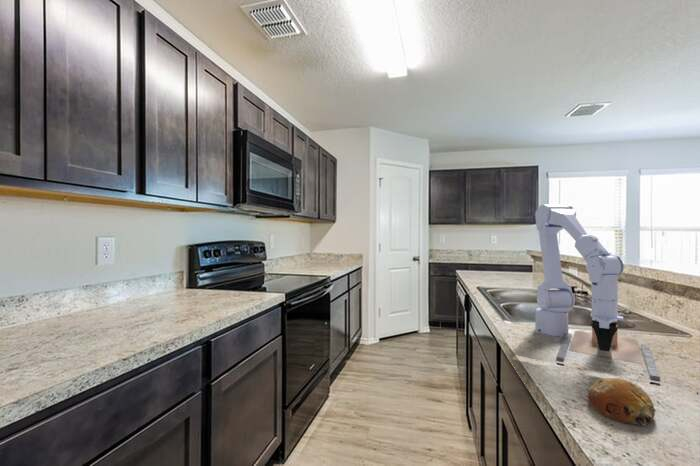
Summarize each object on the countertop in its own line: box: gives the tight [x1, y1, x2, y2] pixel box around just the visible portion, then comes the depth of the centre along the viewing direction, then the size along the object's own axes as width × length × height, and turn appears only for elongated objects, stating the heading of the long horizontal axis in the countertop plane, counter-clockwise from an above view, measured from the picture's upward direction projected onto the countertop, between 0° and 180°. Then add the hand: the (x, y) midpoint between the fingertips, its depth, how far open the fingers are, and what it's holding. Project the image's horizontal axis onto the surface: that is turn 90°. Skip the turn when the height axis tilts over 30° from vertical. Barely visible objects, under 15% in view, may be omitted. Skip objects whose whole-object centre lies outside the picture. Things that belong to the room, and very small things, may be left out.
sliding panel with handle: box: [568, 330, 645, 365], centre depth 98 cm, size 16×24×6 cm, turn 142°
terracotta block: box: [591, 320, 618, 346], centre depth 101 cm, size 6×6×6 cm
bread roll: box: [587, 377, 656, 426], centre depth 64 cm, size 10×10×8 cm
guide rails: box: [555, 332, 661, 386], centre depth 91 cm, size 20×26×2 cm
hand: (604, 348), depth 90 cm, fingers closed on sliding panel with handle, 3 cm apart
